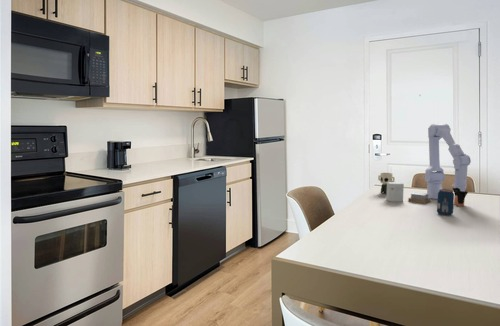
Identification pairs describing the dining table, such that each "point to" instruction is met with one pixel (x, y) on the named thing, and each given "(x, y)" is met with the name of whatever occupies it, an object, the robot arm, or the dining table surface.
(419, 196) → the grey top slab
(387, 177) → the big headed toy figurine
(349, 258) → the dining table surface
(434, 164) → the robot arm
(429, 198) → the walnut base slab
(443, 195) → the soda can
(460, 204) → the orange round piece
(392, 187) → the small box
